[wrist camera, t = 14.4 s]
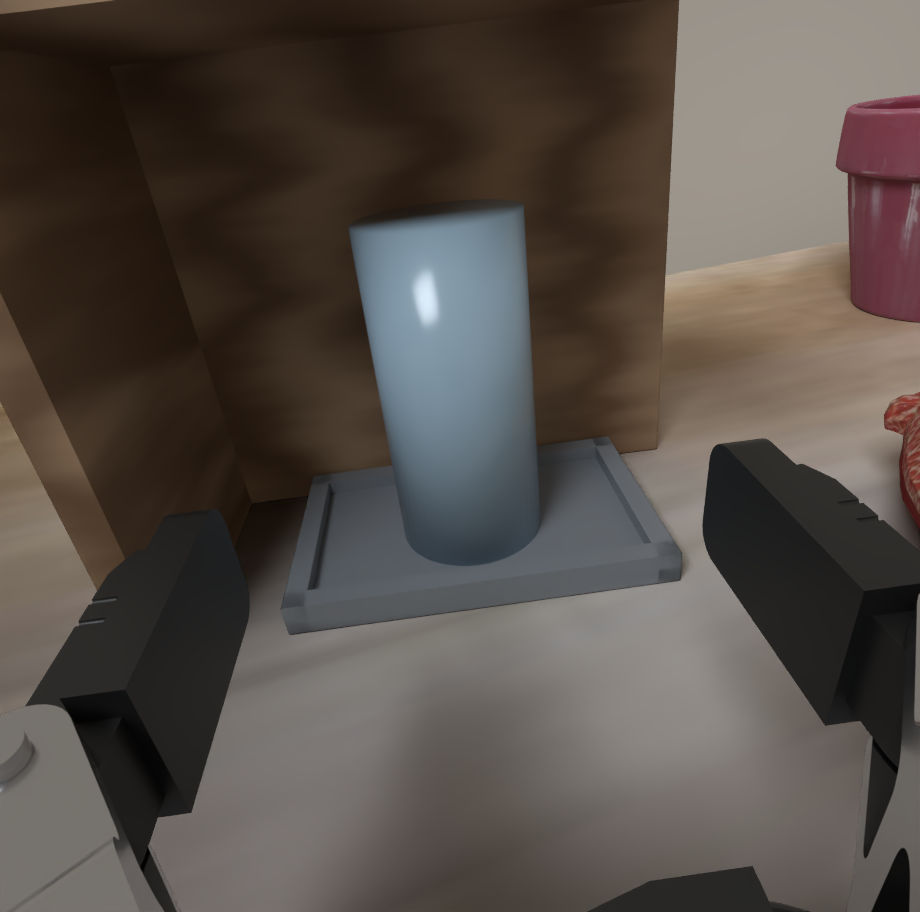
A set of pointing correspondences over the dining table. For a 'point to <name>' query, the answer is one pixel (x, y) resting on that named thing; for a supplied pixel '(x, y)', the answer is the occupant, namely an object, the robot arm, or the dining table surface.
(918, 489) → the dish
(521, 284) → the tall pale blue cylinder
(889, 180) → the plant pot
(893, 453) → the dining table surface
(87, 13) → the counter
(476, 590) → the tray
